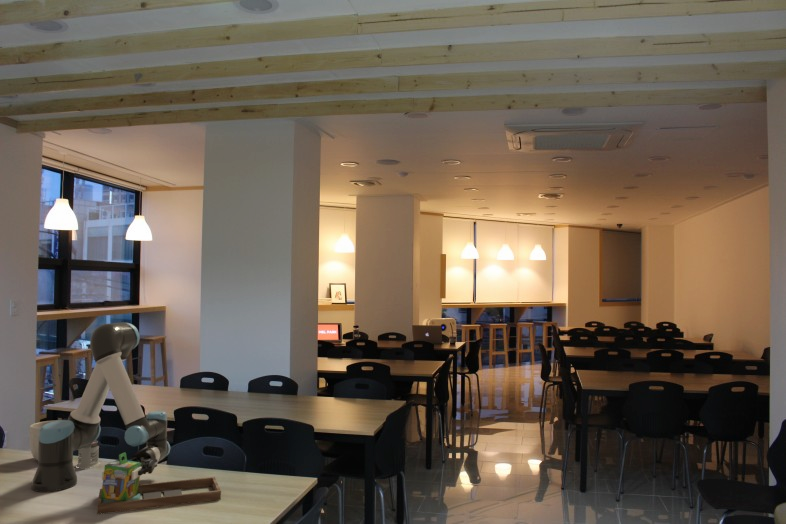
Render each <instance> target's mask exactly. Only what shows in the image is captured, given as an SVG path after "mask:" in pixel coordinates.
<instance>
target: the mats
mask: <svg viewBox="0 0 786 524" xmlns="http://www.w3.org/2000/svg"><path fill="white" fill-rule="evenodd" d="M182 494H183V492H182V489H173V490H164V491H163V496H162V491H155V492H146V493H142V497H143V498H142V499H147V498H156V497H165V496H173V495H182Z"/></svg>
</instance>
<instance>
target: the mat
mask: <svg viewBox="0 0 786 524" xmlns="http://www.w3.org/2000/svg"><path fill="white" fill-rule="evenodd" d="M139 499H142V498H141V494H140V493H138V494H137V495H136V496H134V497H132V498H130V499H129V500H127V501H130V500H139ZM112 502H121V501H116V500H107V499H102V504H104V503H112Z"/></svg>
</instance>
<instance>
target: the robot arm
mask: <svg viewBox="0 0 786 524" xmlns="http://www.w3.org/2000/svg"><path fill="white" fill-rule="evenodd" d="M140 337H141V336H140V332H139V330H138V327H136V326H135V324H132V323H129V322H124V321H123V322H122V321H121V322H114V323H113V322H112V323H104V324H100V325H99V326H98V327H96V328H95V329H94V330H93V332H92V333H91V336H90V340H89V343H90V344H89V345H90V351H91V354H92V355H91V356H92V358H93V360H94V362H95V366H94V368H93V370H92V371H91V375H90V376H89V380H88V381H87V384H86V386H85V389H84V391H83V394H82V396H81V398H80V400H79V402H78V406H77V408H76V409H74V410H72V411H71V412H70V414H69V416H68V418H67V419H61V420H60V419H59V420H60V421H55V420H54V421H55V422H50V423H47V424H45V425H44V426H42V427H41V429H40V432H39V437H38V439H39V449H38V460H37V468H36V471H35V474H34V476H33V479H32V481H31V490H32V491H35V492H38V493H39V492H41V493H42V492H43V493H44V492H45V493H47V491H49V492H56V491H55V490H58V491H62V490H61V489H63V490H66V488H67V489H70V488H73V487H74V486H76V485H77V483H78V476H77V472H76V468H75V466H74V464H73V463H74V461H73V460H74V459H73V458H74V452H76V451H78V449H81V448H84V447H86V446H89V445H90V444H92V443H93V442H94V441H95V440H96V441H97V439H98V438H99V437H100V434H101V430H102V429H101V425H100V424H101V417H100V413H101V410H102V408H103V406H104V403H105V401H106V398H107V396H108V393H109V391H110V393H111V395H112V398H113V400H114V401H115V405H116V407H117V409H118V412H119V415H120V416H121V419H122V421H123V423H124V426H125V429H126V430H125V432H124V440H125V442H126V444H127V445H129V446H131V447H137V446H140V445H144V444H146V446H145V447H144V448H142V449H140V450H138V451H137V452H135V453H134V455H133V456H132V458H129V459H127V461H134V462H140V463H141V467H139V468H137V469H136V470H134V471H133V472H132V479H131V480H134V479H136V478H137V477H139V476H140V477H141V476H142V475H146V474H152V473H153V472H154V470H155V468H156V467H158V463H159V462H161V461H163V460H164V459H165V458H166V457H168V455H169V454H170V453H171V452H170V451H171V445H170V443H169V441H167V440H168V439H167V437H168V434H167V433H168V431H167V430H168V429H167V428H168V417H167V412H166V411H163V410H156V411H155V410H154V411H149V412H148V413H146V416H145V413H144V411H143V408H142V406H141V403H140V401H139V399H138V396H137V393H136V391H135V389H134V387H133V384H132V382H131V379H130V377H129V374H128V373H127V370H126V367H125V365H124V363H123V362H124V361H126V360H128V357H129V355H130V352H131V351H133V350H134V349H136V347H137V346H138V345H139V344H140ZM121 460H124V458H121ZM103 477H104V470H102V471H101V480H102V481H103Z"/></svg>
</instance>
